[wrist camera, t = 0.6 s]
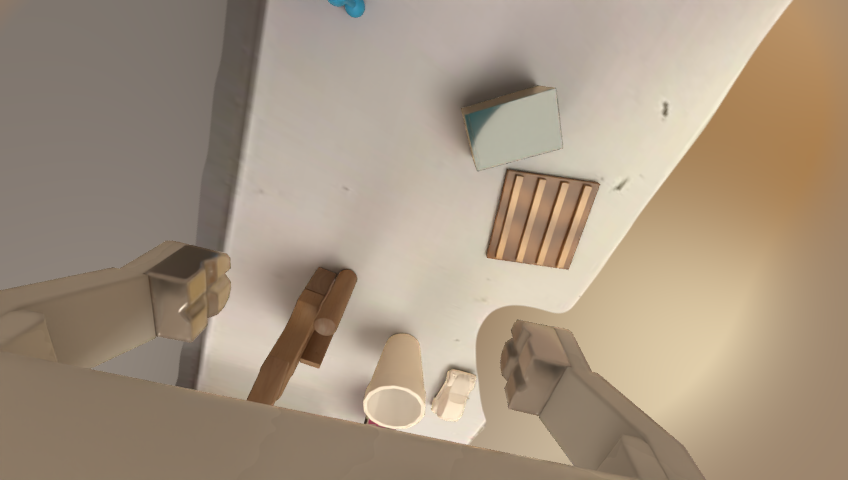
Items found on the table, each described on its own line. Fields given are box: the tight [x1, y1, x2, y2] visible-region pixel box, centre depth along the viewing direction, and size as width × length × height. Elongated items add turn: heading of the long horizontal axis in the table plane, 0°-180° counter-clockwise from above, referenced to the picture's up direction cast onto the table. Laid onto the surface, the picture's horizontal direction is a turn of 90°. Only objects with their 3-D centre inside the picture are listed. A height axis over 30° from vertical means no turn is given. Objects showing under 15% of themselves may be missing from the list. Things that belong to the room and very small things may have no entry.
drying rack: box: [486, 169, 600, 269], centre depth 52 cm, size 14×13×1 cm
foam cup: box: [363, 333, 426, 429], centre depth 58 cm, size 10×9×13 cm
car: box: [431, 369, 476, 421], centre depth 66 cm, size 12×6×5 cm, turn 163°
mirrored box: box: [461, 85, 563, 171], centre depth 43 cm, size 10×7×8 cm, turn 106°
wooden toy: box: [247, 267, 357, 406], centre depth 49 cm, size 16×7×25 cm, turn 157°
